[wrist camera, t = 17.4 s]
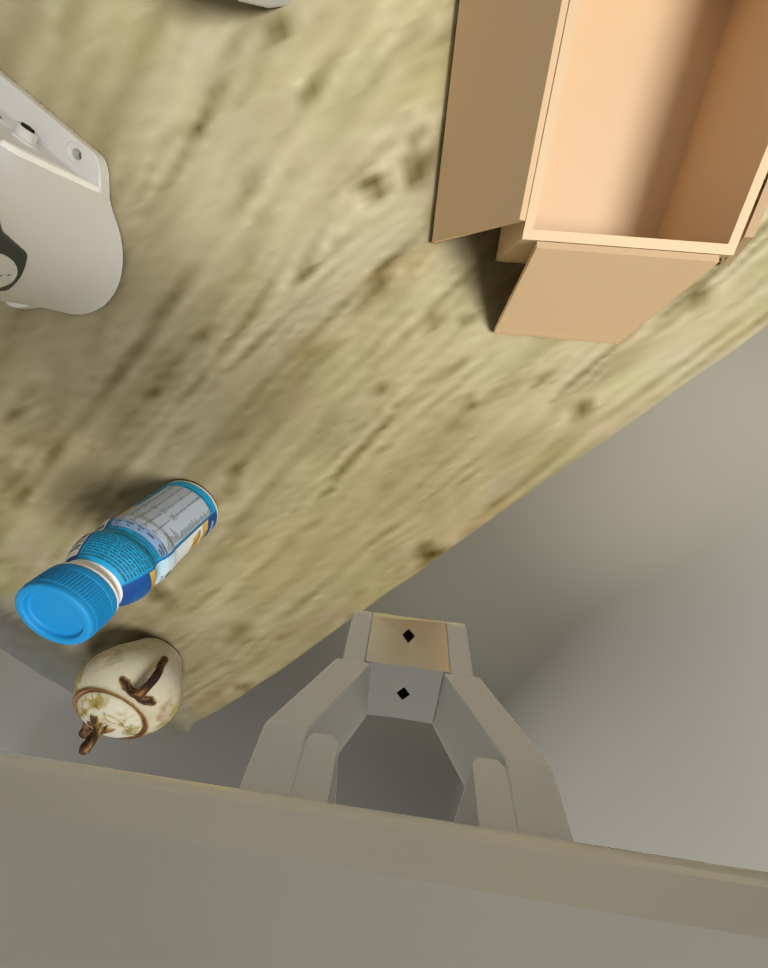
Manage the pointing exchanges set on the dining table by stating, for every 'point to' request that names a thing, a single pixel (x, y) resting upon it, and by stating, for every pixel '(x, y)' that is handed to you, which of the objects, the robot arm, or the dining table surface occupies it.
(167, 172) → the dining table surface
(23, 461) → the dining table surface
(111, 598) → the beverage bottle
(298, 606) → the dining table surface
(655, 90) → the carton
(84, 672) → the sugar bowl
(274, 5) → the alarm clock
